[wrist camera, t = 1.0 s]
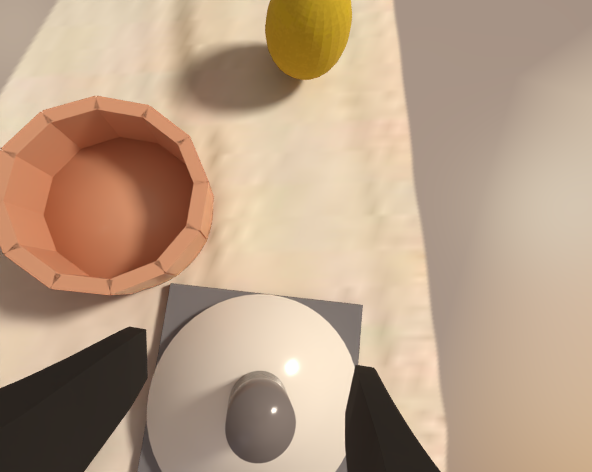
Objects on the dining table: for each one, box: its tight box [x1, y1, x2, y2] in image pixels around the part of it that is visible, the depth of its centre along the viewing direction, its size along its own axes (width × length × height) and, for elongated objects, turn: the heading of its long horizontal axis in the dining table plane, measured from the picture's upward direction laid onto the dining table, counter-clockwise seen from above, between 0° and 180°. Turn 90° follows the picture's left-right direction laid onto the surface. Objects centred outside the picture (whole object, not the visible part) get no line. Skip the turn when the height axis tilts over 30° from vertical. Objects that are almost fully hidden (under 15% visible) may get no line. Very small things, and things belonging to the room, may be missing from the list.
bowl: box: [0, 96, 214, 295], centre depth 20 cm, size 11×11×4 cm
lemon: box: [265, 0, 352, 80], centre depth 22 cm, size 6×6×8 cm
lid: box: [147, 294, 355, 472], centre depth 19 cm, size 13×13×4 cm
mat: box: [138, 283, 363, 472], centre depth 21 cm, size 13×13×1 cm
